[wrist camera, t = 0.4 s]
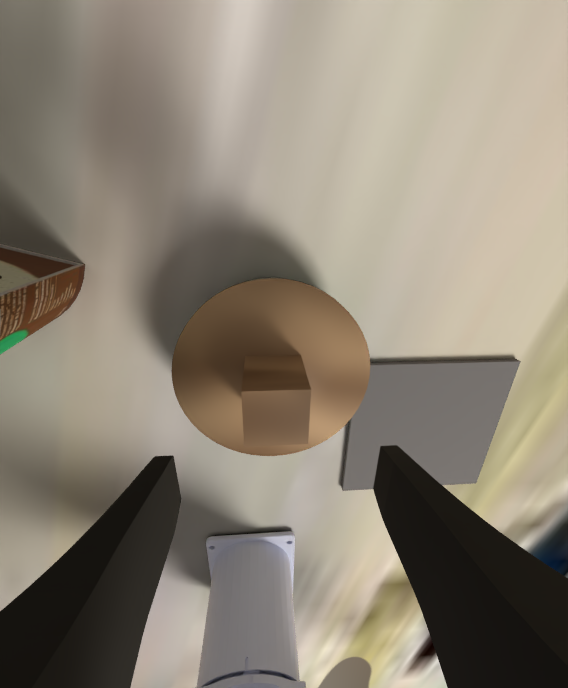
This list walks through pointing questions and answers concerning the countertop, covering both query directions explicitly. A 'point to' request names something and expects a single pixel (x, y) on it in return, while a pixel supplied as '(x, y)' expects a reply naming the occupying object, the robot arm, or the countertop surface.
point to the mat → (428, 417)
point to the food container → (33, 291)
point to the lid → (270, 367)
